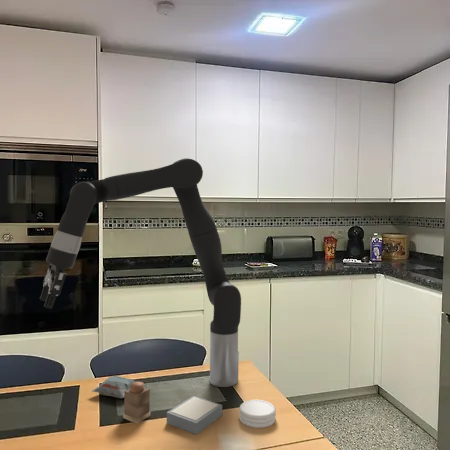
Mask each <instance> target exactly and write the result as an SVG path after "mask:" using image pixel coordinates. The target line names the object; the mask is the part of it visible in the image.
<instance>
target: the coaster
mask: <svg viewBox="0 0 450 450" xmlns="http://www.w3.org/2000/svg"><path fill="white" fill-rule="evenodd" d="M276 412H277V411H276V406H274V405H273V404H272V403H271V402H269V401H267V400H261V399H250V400H249V399H248V400H246V401H244V402H242V403H241V404H240V405H239V414H238V415H239V416H238V417H239V418H238V419H239V420H240V422H241V423H242V424H243V425H245V426H247V427H250V428H255V429H263V428H267V427H270V426H272V425H273V424H275V422H276V419H277V418H276V414H277V413H276Z"/></svg>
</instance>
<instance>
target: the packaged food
mask: <svg viewBox="0 0 450 450" xmlns="http://www.w3.org/2000/svg"><path fill="white" fill-rule="evenodd" d="M133 382H136V381H135V380H134V379H133V378H132V379H131V378H128V377H127V378H126V377H121V376H118V375H112V376H109V377H107V379H105V380H104V381H103V382H102V383H100V384H98V385H99V386H97V387H95V388H94V389H92V391H91V392H95V393H98V394H99V395H101V396H107V397H113V398H116V399H123V398H124V391H126V390H128V389H130V385H131V383H133Z"/></svg>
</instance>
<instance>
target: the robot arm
mask: <svg viewBox="0 0 450 450" xmlns="http://www.w3.org/2000/svg"><path fill="white" fill-rule="evenodd" d="M203 171H204V170H203V167H202V165H201V164H200V163H199V161H197V160H196V159H193V158H190V157H189V158H188V157H186V158H181V159H179V160H177V161H174V162H173V163H171V164H169V165H166V166H162V167H158V168H154V169H153V168H152V169H148V170H147V169H146V170H142V171H141V170H140V171H135V172H134V171H133V172H126V173H123V174H116V175H111V176H107V177H105V178H102V179H97V180H91V181H90V180H89V181H79V182H77V183H75V184H74V185H73V186H72V187H71V189H70V191H69V197H68V201H67V204H66V208H65V211H64V213H63V214H62V217H61V219H60V221H59V223H58V225H57V226H58V227H57V229H56V232H55V234H54V236H53V239H52V242H51V244H50V247H49V251H48V253H47V256H46V258H45V262H47V263H48V264H49V265H48V267H47V271H46V273H45V276H44V279H43V280H42V284H43V285H42V286H43V288H42V291H41V294H40V296H39V300H40V302H41V301H42V302H44V304H43V308H45V309H49V310H52V309H53V307H54V306H55V302H56V300H57V298H58V296H60V295H61V293H62V290H63V289H62V288H64V287H63V286H64V283H65V280H66V277H67V273H65V269H73V268H74V265H75V262H76V259H77V257H78V253H79V251H80V249H81V245H82V239H83V236H84V232H85V229H86V226H87V223H88V219H89V218H90V215H91V213H92V211H93V208H94V207H95V205H96V204H100V203H103V202H107V201H108V202H109V201H117V200H123V199H127V198H131V197H136V196H139V195H142V194H146V193H149V192H154V191H157V190H162V189H169V188H172V189H173V191H174V193H175V196H176V197H177V200H178V202H179V206H180V208H181V213H182V216H183V219H184V222H185V226H186V229H187V233H188V236H189V239H190V242H191V244H192V245H191V246H192V248H193V250H194V253H195V256H196V259H197V261H198V264H199V266H200V268H201V271H202V274H203V279H204V284H205V288H206V292H207V298H208V300H209V302H210V304H211V305H212V306H213V317H212V321H210V325H209V326H210V329H209V384H211V385H213V386H214V387H219V388H228V387H229V388H230V387H234V386H236V385H237V384H238V380H239V362H240V361H239V359H240V358H239V354H240V352H239V347H238V346H239V325H240V323H241V314H242V296H241V292H240V290H239V288H238V287H237V286H235V285H234V284H232V283H231V282H230V280H229V278H228V275H227V274H226V271H225V268H224V265H223V257H222V256H223V251H222V243H221V237H220V234H219V231H218V227H217V225H216V223H215V220H214V219H213V217H212V215H211V213H210V211H209V209H207V207H206V205H205V203H204V201H203V199H202V198H201V194H200V191H199V187H198V184H199V183H201V180H202V179H203V173H204V172H203Z"/></svg>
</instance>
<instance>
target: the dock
mask: <svg viewBox="0 0 450 450" xmlns="http://www.w3.org/2000/svg"><path fill="white" fill-rule="evenodd" d="M222 416H223V404H220V403H217V402H214V401H211V400H209V399H205V398H203V397H200V396H196V395H193V396H191V397H189V398H188V399H185V400H184V401H183V402H181V403H180V404H178V405H176V406H175V407H173V408H172V409H170V410H168V411H166V424H168V425H170V426H173V427H176V428H179V429H181V430H184V431H186V432H188V433H191V434H194V435H199V433H201V432H202V431H203V430H204V429H206V428H208V427H209V426H210V425H211V424H213V423H214V422H216V421H217V420H218V419H219V418H220V417H222Z"/></svg>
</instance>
